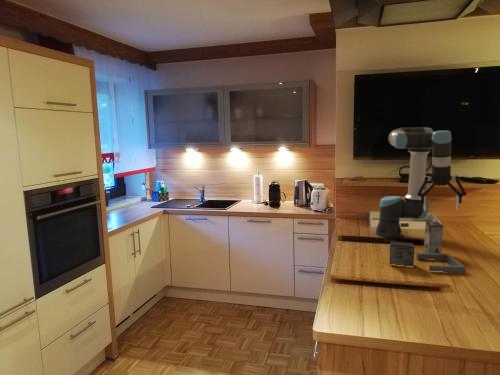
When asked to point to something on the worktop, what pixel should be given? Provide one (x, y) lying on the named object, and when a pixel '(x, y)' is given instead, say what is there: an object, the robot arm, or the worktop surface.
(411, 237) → the worktop surface
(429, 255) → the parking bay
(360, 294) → the worktop surface
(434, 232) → the coffee box
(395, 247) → the small box
